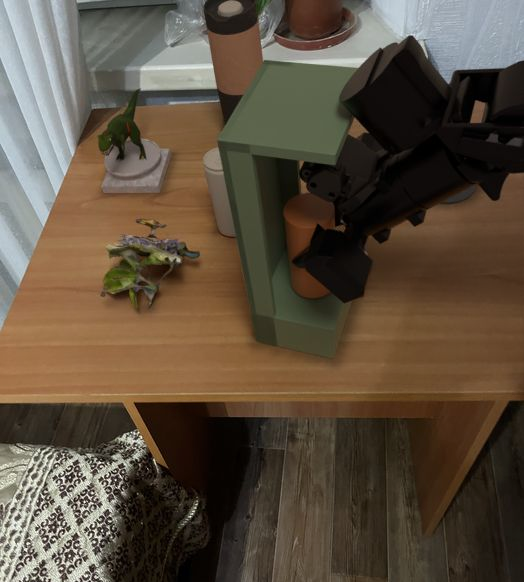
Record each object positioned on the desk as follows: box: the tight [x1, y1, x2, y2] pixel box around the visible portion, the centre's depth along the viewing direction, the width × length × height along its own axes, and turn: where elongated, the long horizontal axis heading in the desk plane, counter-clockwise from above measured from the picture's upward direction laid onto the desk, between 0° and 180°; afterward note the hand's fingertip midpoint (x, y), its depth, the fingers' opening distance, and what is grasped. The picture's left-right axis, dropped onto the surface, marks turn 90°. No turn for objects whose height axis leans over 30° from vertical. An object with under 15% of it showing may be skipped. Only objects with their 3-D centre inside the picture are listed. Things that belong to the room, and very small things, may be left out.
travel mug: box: [203, 0, 264, 126], centre depth 85 cm, size 8×8×20 cm
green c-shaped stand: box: [216, 59, 359, 360], centre depth 59 cm, size 10×12×29 cm
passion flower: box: [99, 218, 201, 310], centre depth 73 cm, size 11×11×12 cm
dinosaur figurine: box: [96, 87, 172, 194], centre depth 86 cm, size 9×20×12 cm, turn 174°
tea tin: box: [283, 192, 336, 298], centre depth 61 cm, size 5×5×11 cm
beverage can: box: [202, 146, 236, 238], centre depth 76 cm, size 5×5×12 cm
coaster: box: [439, 184, 478, 205], centre depth 81 cm, size 9×9×1 cm
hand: (302, 245), depth 61 cm, fingers closed on tea tin, 5 cm apart
